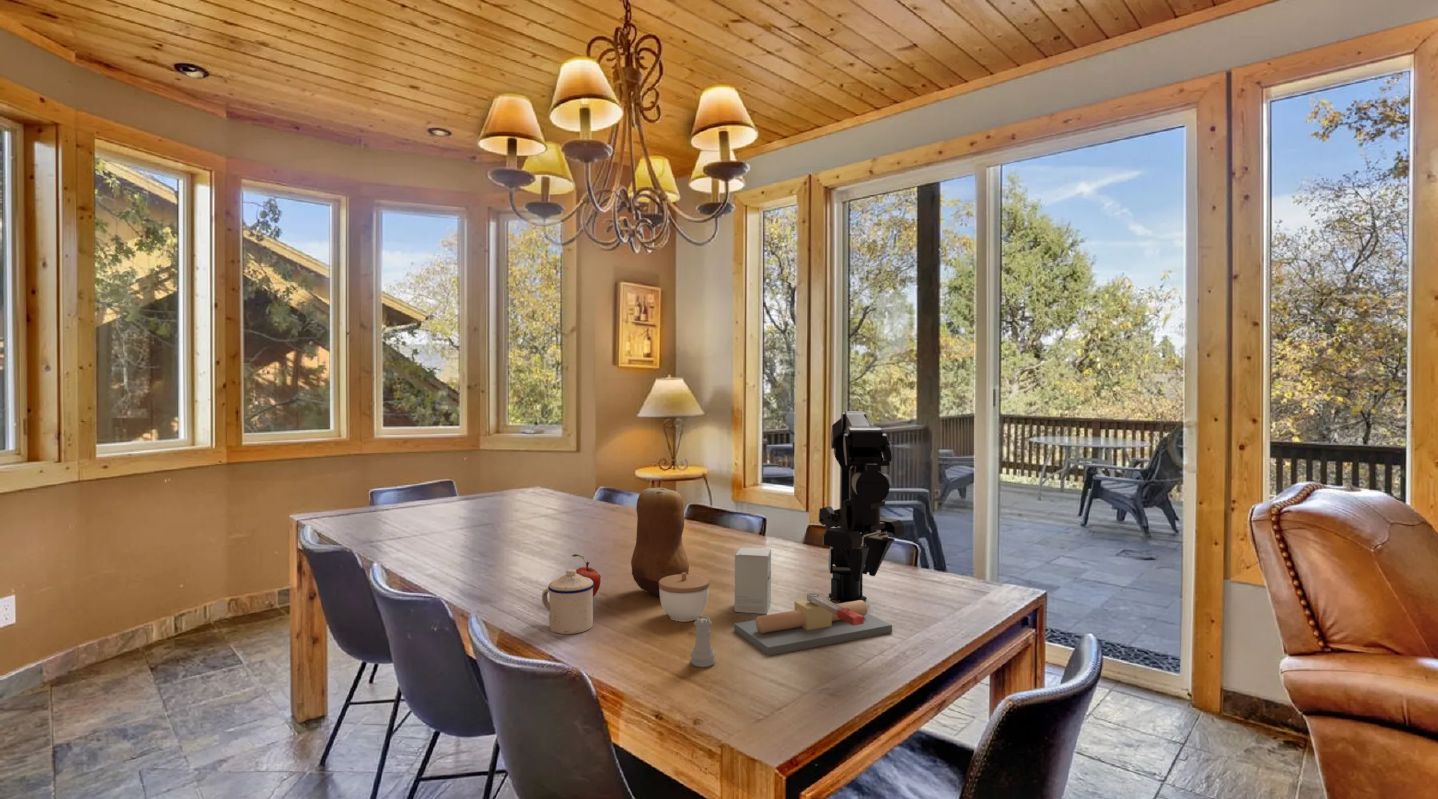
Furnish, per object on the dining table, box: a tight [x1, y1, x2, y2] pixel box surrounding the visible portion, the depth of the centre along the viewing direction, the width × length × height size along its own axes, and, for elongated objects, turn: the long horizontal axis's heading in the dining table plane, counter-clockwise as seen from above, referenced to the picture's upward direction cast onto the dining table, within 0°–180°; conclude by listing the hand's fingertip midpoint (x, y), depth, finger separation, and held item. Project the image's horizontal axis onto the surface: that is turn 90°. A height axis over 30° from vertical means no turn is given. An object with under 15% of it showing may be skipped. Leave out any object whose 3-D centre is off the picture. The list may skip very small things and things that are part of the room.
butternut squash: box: [630, 487, 690, 597], centre depth 160 cm, size 14×13×25 cm
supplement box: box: [734, 547, 772, 615], centre depth 149 cm, size 7×7×13 cm
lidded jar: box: [659, 573, 710, 623], centre depth 144 cm, size 11×11×9 cm
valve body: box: [733, 599, 893, 657], centre depth 135 cm, size 28×14×6 cm, turn 115°
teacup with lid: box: [541, 568, 594, 635], centre depth 138 cm, size 12×9×12 cm
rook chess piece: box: [690, 615, 716, 668], centre depth 119 cm, size 4×4×8 cm
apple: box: [571, 553, 602, 598], centre depth 157 cm, size 8×7×10 cm
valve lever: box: [806, 592, 864, 626], centre depth 128 cm, size 16×2×1 cm, turn 25°
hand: (864, 578), depth 126 cm, fingers open, 5 cm apart
